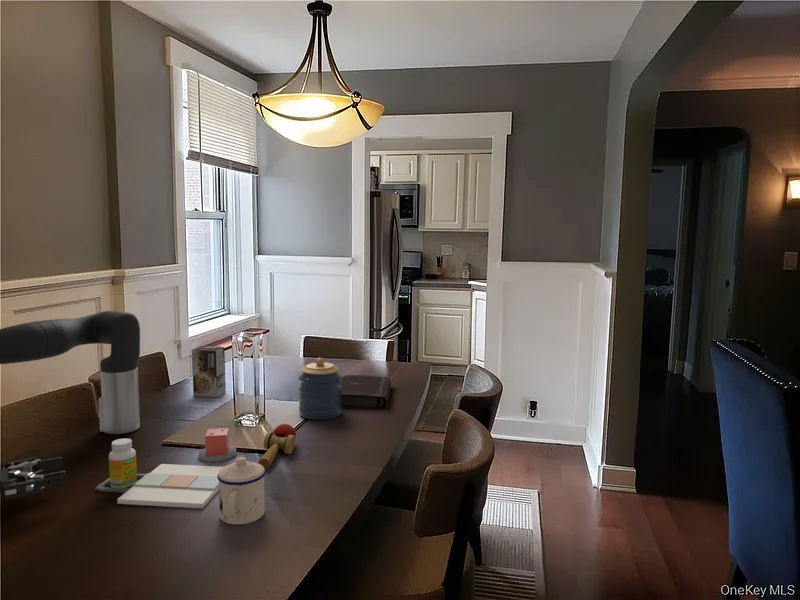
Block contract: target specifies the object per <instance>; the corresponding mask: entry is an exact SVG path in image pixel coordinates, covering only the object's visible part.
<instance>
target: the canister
mask: <svg viewBox="0 0 800 600" xmlns="http://www.w3.org/2000/svg"><path fill="white" fill-rule="evenodd" d="M339 369H340V368H339V367H338V366H336V365H335V364H334V363H331V362H326V361H325V359H324V358H323V357H318V358H316V360H315V362H311V363H308V364H306V365H304V366H303V367H301V372H302V373H300V375H299V376H298V380H299V383H300V384H299V387H298V392H299V393H298V395H299V397H298V398H299V403H298V404H299V405H298V413H299V416H300V417H301V416H302V417H301V418H303V417H304V418H303V419H305V418H306V420H311V421H325V420H332V419H334V418H337V417H339V416H340V415H341V414H342V413H341V412H342V408H341V385H340V379H341V377H342V375H341V374H340V373H339V372H338V371H339Z"/></svg>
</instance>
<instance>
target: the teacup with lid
mask: <svg viewBox="0 0 800 600" xmlns="http://www.w3.org/2000/svg"><path fill="white" fill-rule="evenodd" d="M235 459H236V460H235V461H234V462H233V463H230V464H227V465H225V466H222V467H223V468H222V469H221V470H220V471H219V473H218V475H217V478H218V480H219V491H218V505H219V518H220V520H221V521H222V522H224V523H226V524H229V525H234V526H239V525H248V524H252V523H254V522H256V521H258V520H259V519H261V518H262V517H264V514H265V512H266V511H265V509H266V508H265V507H266V506H265V503H266V502H265V476H266V475H265V474H266V469H264V467H263V466H262V465H260V464H258V462H253V461H249V460H247V458H246V457H245V456H239V457H237V458H235Z"/></svg>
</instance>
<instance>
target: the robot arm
mask: <svg viewBox="0 0 800 600" xmlns="http://www.w3.org/2000/svg"><path fill="white" fill-rule="evenodd" d="M93 344H103V345H111V346H110V354H109V356H106V357H104V358H102V359H101V360H100V363H99V370H100V386H101V387H100V388H101V396H100V397H99V398H98V416H99V432H102V433H103V432H104V433H105V434H109V435H121V434H127V433H131V432H134V431H136V430H138V429H139V428H140V426H141V425H140V424H141V423H140V421H141V419H140V399H139V397H140V396H139V395H140V394H139V373H138V372H139V371H138V362H139V358H140V353H141V327H140V323H139V319H138V318H137V316H136V315H134V314H133V313H132V312H126V311H120V310H119V311H118V310H105V311H101V312H96V313H94V314H93V313H92V314H89V315H86V316H82V317H77V318H55V319H45V320H37V321H31V322H30V321H28V322H24V323H20V324H19V323H18V324H15V325H10V326H6V327H3V328H0V365H6V364H7V365H8V364H17V363H18V364H19V363H25V362H26V363H27V362H33V361H40V360H44V359H50V358H54V357H58V356H61V355H63V354H66V353H68V352H69V351H71V350H72V349H73V348H76V347H79V346H83V345H93ZM63 463H64V462H63V458H62V457H61V456H58V457H54V458H53V457H52V458H47V459H46V458H45V459H42V460H41V459H40V458H38V457H37V456H33V457H29V458H28V457H27V458H23V459H17V460H12V461H6V462H3V465H2V468H3V469H0V493H4V495H3V497H4V498H3V499H5V500H9V499H14V498H18V497H20V498H21V497H25V496H30V495H35V494H36V495H37V494H39V493H42V489H45V487H48V486H53V485H58V484H63V483H65V482H67V473H66V471H65V470H60V471H55V472H50V473H46V474H45V473H44V474H37V473H40V472H46V471H51V470H56V469H61V468H62V467H63Z"/></svg>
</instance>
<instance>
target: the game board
mask: <svg viewBox="0 0 800 600" xmlns="http://www.w3.org/2000/svg"><path fill="white" fill-rule="evenodd" d="M223 467H224V466H214V465H213V466H212V465H211V466H210V465H208V466H207V465H192V464H191V465H189V464H171V463H170V464H169V463H161V464H159V465H158V466H157V467H155V469H153V470H152V471H150V472H147V473H137V479H138V478H139V479H138V480H137V482H136V483H135V484H134V485H132V486H130V487H126V488H113V487H111V486H110V487H109V486H107V485H108V484H109V485H110V477H108V478H107V479H106V480H104V481H103V482H101V483H99V484H98V485H97V486H95V488H94V491H95V492H105V493H106V492H109V493H122V494H121V496H119V497H118V498H117V499H116V500H117V504H119V505H120V504H121V505H132V506H133V505H134V506H135V505H136V506H150V507H151V506H155V507H169V508H170V507H171V508H189V509H203V508H205V506H206V505H207V504H208V503H209V502H210V501H211V499H212V498H213V497H214V496H216V494H217V493H219V480H218V478H217V475H218V473H219V471H220V470H221V469H222V468H223Z"/></svg>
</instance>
